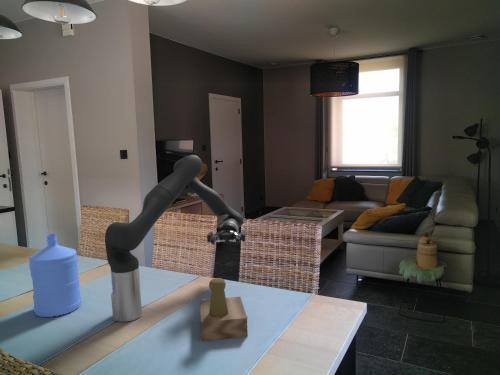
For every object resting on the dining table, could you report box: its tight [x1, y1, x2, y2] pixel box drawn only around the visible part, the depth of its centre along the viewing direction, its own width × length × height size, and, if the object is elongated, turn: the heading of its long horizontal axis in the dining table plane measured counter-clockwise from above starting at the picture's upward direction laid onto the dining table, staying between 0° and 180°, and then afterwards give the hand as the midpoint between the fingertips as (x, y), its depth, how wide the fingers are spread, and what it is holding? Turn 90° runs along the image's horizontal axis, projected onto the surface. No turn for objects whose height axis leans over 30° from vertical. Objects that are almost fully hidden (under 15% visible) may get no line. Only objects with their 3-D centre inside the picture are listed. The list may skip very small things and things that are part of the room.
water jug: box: [28, 233, 83, 318], centre depth 136 cm, size 16×16×28 cm
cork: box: [208, 277, 228, 317], centre depth 116 cm, size 6×6×11 cm
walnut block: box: [199, 296, 249, 342], centre depth 120 cm, size 14×16×6 cm
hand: (224, 241), depth 132 cm, fingers open, 8 cm apart
